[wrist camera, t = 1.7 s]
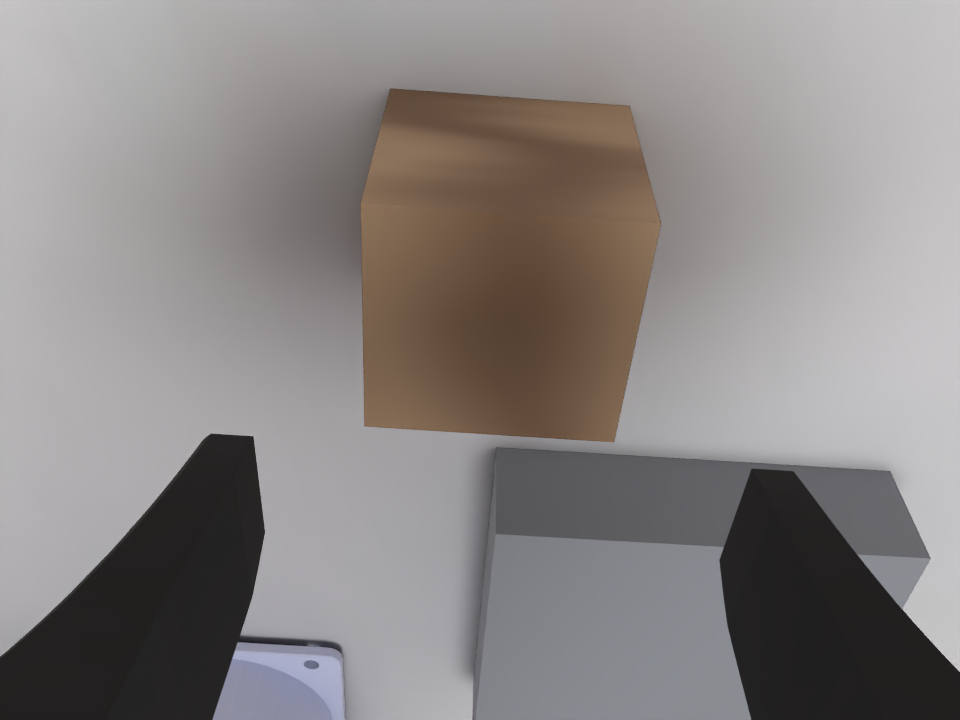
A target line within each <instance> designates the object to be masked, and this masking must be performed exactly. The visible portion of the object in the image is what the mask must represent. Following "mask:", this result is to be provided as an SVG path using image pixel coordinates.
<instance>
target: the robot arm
mask: <svg viewBox="0 0 960 720" xmlns="http://www.w3.org/2000/svg"><path fill="white" fill-rule="evenodd" d="M264 534H265V529H264V521H263V513H262V504H261V496H260V488H259V480H258V471H257V463H256V455H255V447H254V438H253V436H238V435H222V434H210V435H209V436H207V437H206V438H205V439H204V440H203V441H202V442H201V444H200V445H199V446H198V447H197V449H196V450H195V451H194V453H193V454H192V455H191V457H190V458H189V459H188V461H187V462H186V463H185V464H184V466H183V467H182V468H181V470H180V471H179V472H178V473H177V475H176V476H175V477H174V478H173V480H172V481H171V482H170V483H169V485H168V486H167V487H166V488H165V489H164V491H163V492H162V493H161V494H160V496H159V497H158V498H157V499H156V500H155V502H154V503H153V504H152V505H151V506H150V508H149V509H148V510H147V511H146V512H145V513H144V514H143V516H142V517H141V518H140V519H139V520H138V521H137V522H136V524H135V525H134V526H133V527H132V528H131V529H130V530H129V532H128V533H127V534H126V535H125V536H124V537H123V538H122V540H121V541H120V542H119V543H118V544H117V545H116V546H115V547H114V548H113V549H112V551H111V552H110V553H109V554H108V555H107V556H106V557H105V558H104V559H103V560H102V561H101V562H100V563H99V564H98V565H97V566H96V567H95V568H94V569H93V570H92V571H91V572H90V573H89V574H88V575H87V577H86V578H85V579H84V580H83V581H82V582H81V583H80V584H79V585H78V586H77V587H76V588H75V589H74V590H73V591H72V592H71V593H70V594H69V595H68V596H67V597H66V598H65V599H64V600H63V601H62V602H61V603H60V604H59V605H58V606H57V607H55V608H54V609H53V610H52V611H51V612H50V613H49V614H48V615H47V616H46V617H45V618H44V619H43V620H42V621H41V622H39V623H38V624H37V625H36V626H35V627H34V628H33V629H32V630H31V631H29V632H28V633H27V634H26V635H25V636H24V637H23V638H22V639H20V640H19V641H18V642H17V643H16V644H15V645H14V646H13V647H11V648H10V649H9V650H8V651H7V652H6V653H4V654H3V655H2V656H1V657H0V720H346V718H345V697H344V676H343V657H342V655H341V653H340V652H338V651H337V650H335V649H333V648H327V647H310V646H293V645H276V644H259V643H242V642H238V640H239V637H240V634H241V630H242V627H243V624H244V621H245V618H246V615H247V612H248V608H249V605H250V602H251V599H252V595H253V590H254V585H255V580H256V576H257V571H258V566H259V560H260V555H261V550H262V545H263V539H264ZM719 562H720V571H721V580H722V588H723V597H724V604H725V612H726V619H727V626H728V630H729V634H730V638H731V643H732V647H733V650H734V654H735V658H736V662H737V666H738V670H739V674H740V678H741V682H742V686H743V690H744V694H745V697H746V701H747V705H748V709H749V713H750V717H751V720H960V672H959V671H958V670H957V669H956V668H955V667H954V666H953V665H952V664H951V663H950V662H949V661H948V660H947V659H946V658H945V656H944V655H943V654H942V653H941V652H940V651H939V650H938V649H937V648H936V647H935V646H934V645H933V643H932V642H931V641H930V640H929V639H928V638H927V637H926V636H925V635H924V633H923V632H922V631H921V630H920V629H919V628H918V627H917V626H916V625H915V624H914V622H913V621H912V620H911V619H910V618H909V617H908V616H907V614H906V613H905V612H904V611H903V610H902V609H901V607H900V606H899V605H898V604H897V603H896V602H895V600H894V599H893V598H892V597H891V595H890V594H889V593H888V592H887V591H886V589H885V588H884V587H883V586H882V584H881V583H880V582H879V581H878V580H877V578H876V577H875V576H874V575H873V573H872V572H871V571H870V570H869V569H868V567H867V566H866V565H865V564H864V562H863V561H862V560H861V559H860V557H859V556H858V555H857V553H856V552H855V551H854V550H853V548H852V547H851V546H850V545H849V543H848V542H847V541H846V539H845V538H844V537H843V535H842V534H841V533H840V531H839V530H838V529H837V528H836V526H835V525H834V524H833V522H832V521H831V520H830V518H829V517H828V516H827V514H826V513H825V512H824V510H823V509H822V508H821V506H820V505H819V504H818V502H817V501H816V500H815V498H814V497H813V496H812V495H811V493H810V492H809V491H808V489H807V488H806V487H805V485H804V484H803V483H802V481H801V480H800V479H799V478H798V476H797V475H796V474H795V472H794V471H784V470H768V469H753V468H752V469H751V472H750V475H749V477H748V480H747V483H746V486H745V489H744V492H743V494H742V497H741V500H740V503H739V506H738V509H737V511H736V514H735V517H734V520H733V523H732V526H731V528H730V531H729V534H728V537H727V540H726V543H725V545H724V548H723V551H722V554H721V557H720V560H719Z"/></svg>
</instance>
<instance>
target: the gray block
mask: <svg viewBox="0 0 960 720" xmlns="http://www.w3.org/2000/svg"><path fill="white" fill-rule="evenodd" d="M752 468H753V469H768V470H784V471H794V472H795V474H796V475H797V476H798V478H799V479H800V480H801V481H802V483H803V484H804V485H805V487H806V488H807V489H808V491H809V492H810V493H811V495H812V496H813V497H814V498H815V500H816V501H817V502H818V504H819V505H820V506H821V508H822V509H823V510H824V512H825V513H826V514H827V516H828V517H829V518H830V520H831V521H832V522H833V524H834V525H835V526H836V528H837V529H838V530H839V531H840V533H841V534H842V535H843V537H844V538H845V539H846V541H847V542H848V543H849V545H850V546H851V547H852V548H853V550H854V551H855V552H856V553H857V555H858V556H859V557H860V559H861V560H862V561H863V562H864V564H865V565H866V566H867V567H868V569H869V570H870V571H871V572H872V573H873V575H874V576H875V577H876V578H877V580H878V581H879V582H880V583H881V584H882V586H883V587H884V588H885V589H886V591H887V592H888V593H889V594H890V595H891V597H892V598H893V599H894V600H895V602H896V603H897V604H898V605H899V606H900V607H901V609H902V608H903V607H904V605H905V603H906V601H907V600H908V598H909V596H910V594H911V593H912V591H913V589H914V587H915V585H916V584H917V582H918V580H919V578H920V577H921V575H922V573H923V571H924V570H925V568H926V566H927V564H928V563H929V561H930V559H931V558H930V556H929V554H928V552H927V550H926V547H925V545H924V543H923V541H922V539H921V537H920V535H919V532H918V530H917V528H916V526H915V524H914V522H913V520H912V517H911V515H910V513H909V511H908V509H907V507H906V504H905V502H904V500H903V498H902V496H901V494H900V492H899V489H898V487H897V485H896V483H895V481H894V479H893V477H892V474H891V472H890V471H878V470H862V469H845V468H829V467H812V466H796V465H779V464H763V463H746V462H730V461H713V460H697V459H680V458H664V457H647V456H631V455H614V454H598V453H581V452H564V451H548V450H531V449H515V448H498V447H496V456H495V466H494V476H493V486H492V496H491V506H490V516H489V526H488V536H487V546H486V556H485V566H484V576H483V586H482V596H481V606H480V617H479V627H478V637H477V647H476V657H475V667H474V682H473V717H472V720H751V717H750V713H749V709H748V705H747V701H746V697H745V694H744V690H743V686H742V682H741V678H740V674H739V670H738V666H737V662H736V658H735V654H734V650H733V647H732V643H731V638H730V634H729V630H728V626H727V619H726V612H725V604H724V597H723V588H722V580H721V571H720V562H719V560H720V557H721V554H722V551H723V548H724V545H725V543H726V540H727V537H728V534H729V531H730V528H731V526H732V523H733V520H734V517H735V514H736V511H737V509H738V506H739V503H740V500H741V497H742V494H743V492H744V489H745V486H746V483H747V480H748V477H749V475H750V472H751V469H752Z"/></svg>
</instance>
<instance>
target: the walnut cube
mask: <svg viewBox="0 0 960 720" xmlns="http://www.w3.org/2000/svg"><path fill="white" fill-rule="evenodd" d="M660 226H661V222H660V218H659V214H658V210H657V207H656V203H655V199H654V195H653V192H652V188H651V184H650V180H649V177H648V173H647V169H646V165H645V162H644V158H643V154H642V150H641V147H640V143H639V139H638V136H637V132H636V128H635V124H634V121H633V117H632V113H631V109H630V106H623V105H609V104H596V103H582V102H568V101H554V100H540V99H527V98H513V97H499V96H485V95H471V94H458V93H444V92H430V91H416V90H402V89H390V92H389V96H388V100H387V103H386V107H385V111H384V115H383V119H382V123H381V127H380V130H379V134H378V138H377V142H376V146H375V150H374V154H373V157H372V161H371V165H370V169H369V173H368V177H367V180H366V184H365V188H364V192H363V196H362V200H361V252H362V310H363V368H364V426H366V427H382V428H398V429H414V430H429V431H445V432H461V433H476V434H492V435H508V436H523V437H539V438H555V439H571V440H586V441H602V442H614V440H615V436H616V431H617V426H618V422H619V417H620V412H621V408H622V403H623V399H624V394H625V389H626V385H627V380H628V375H629V371H630V366H631V361H632V357H633V352H634V347H635V343H636V338H637V333H638V329H639V324H640V319H641V315H642V310H643V305H644V301H645V296H646V292H647V287H648V282H649V278H650V273H651V268H652V264H653V259H654V254H655V250H656V245H657V240H658V236H659V231H660Z"/></svg>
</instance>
